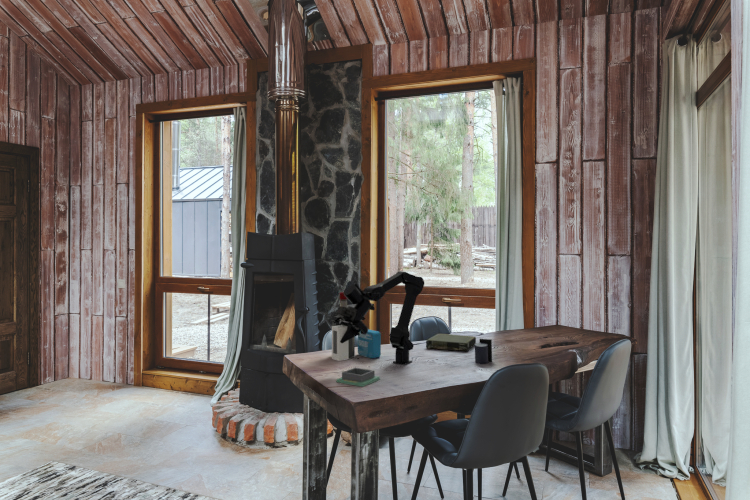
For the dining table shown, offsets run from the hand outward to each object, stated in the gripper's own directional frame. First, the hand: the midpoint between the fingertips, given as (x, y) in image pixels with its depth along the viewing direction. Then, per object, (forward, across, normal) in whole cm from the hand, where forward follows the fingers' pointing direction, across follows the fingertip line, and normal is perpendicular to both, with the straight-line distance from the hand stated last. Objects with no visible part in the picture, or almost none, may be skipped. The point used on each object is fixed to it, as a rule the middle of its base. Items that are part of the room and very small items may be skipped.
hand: (337, 341), depth 195 cm
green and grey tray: (+8, +11, +11) cm, 18 cm away
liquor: (-6, -26, +25) cm, 37 cm away
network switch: (-46, -10, +66) cm, 81 cm away
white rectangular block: (+4, 0, +6) cm, 7 cm away
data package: (-13, -20, +32) cm, 40 cm away
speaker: (-34, +23, +54) cm, 68 cm away
